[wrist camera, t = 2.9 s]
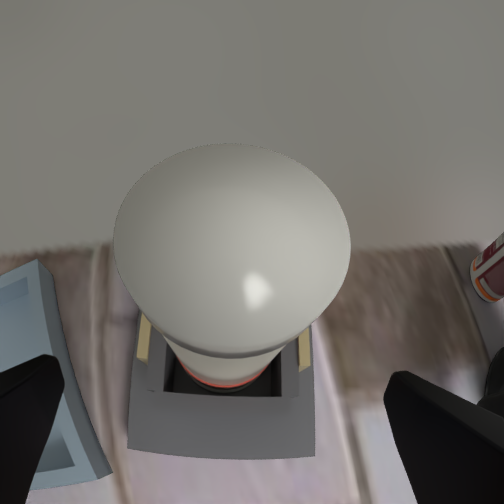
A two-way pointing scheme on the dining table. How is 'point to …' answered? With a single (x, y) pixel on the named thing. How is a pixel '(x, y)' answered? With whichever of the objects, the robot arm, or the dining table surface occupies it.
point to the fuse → (230, 257)
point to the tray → (53, 343)
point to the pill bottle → (489, 271)
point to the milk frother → (495, 387)
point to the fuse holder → (221, 405)
